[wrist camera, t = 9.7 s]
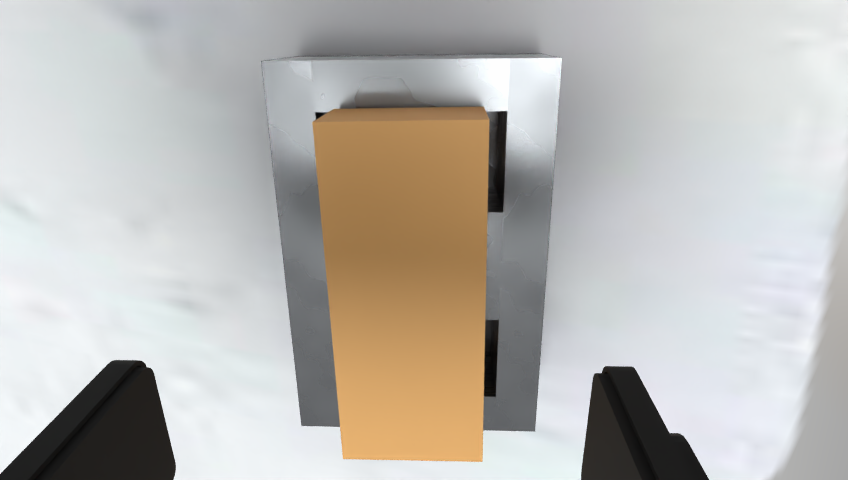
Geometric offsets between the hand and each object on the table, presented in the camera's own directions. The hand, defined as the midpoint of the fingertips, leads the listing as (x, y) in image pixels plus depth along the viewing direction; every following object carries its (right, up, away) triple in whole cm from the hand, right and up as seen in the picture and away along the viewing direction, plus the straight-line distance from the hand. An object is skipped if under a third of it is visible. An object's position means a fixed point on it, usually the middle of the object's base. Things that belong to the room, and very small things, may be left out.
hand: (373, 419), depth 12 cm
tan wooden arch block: (+1, +4, +12) cm, 13 cm away
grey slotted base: (+1, +4, +13) cm, 14 cm away
